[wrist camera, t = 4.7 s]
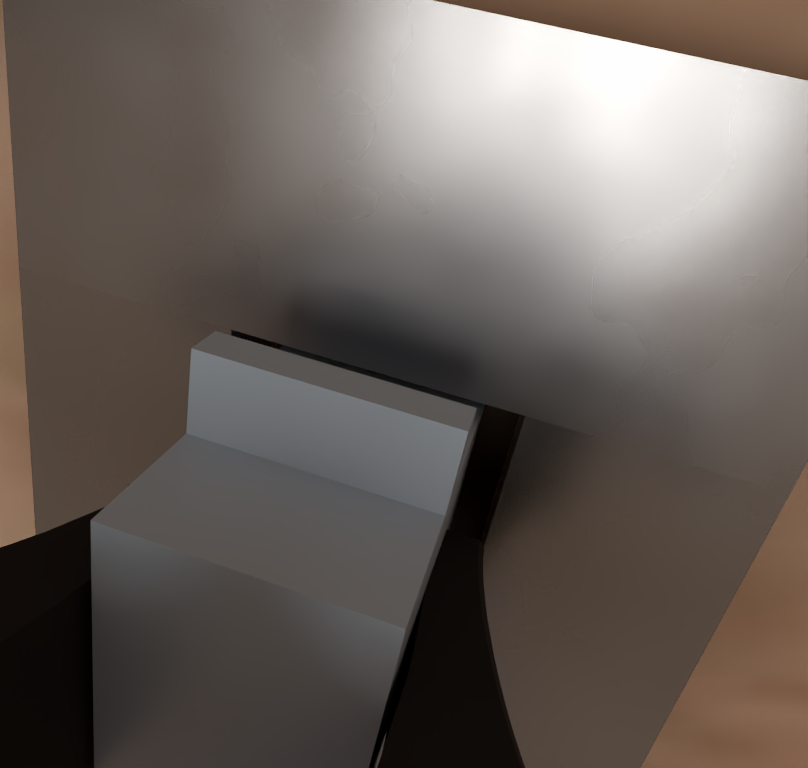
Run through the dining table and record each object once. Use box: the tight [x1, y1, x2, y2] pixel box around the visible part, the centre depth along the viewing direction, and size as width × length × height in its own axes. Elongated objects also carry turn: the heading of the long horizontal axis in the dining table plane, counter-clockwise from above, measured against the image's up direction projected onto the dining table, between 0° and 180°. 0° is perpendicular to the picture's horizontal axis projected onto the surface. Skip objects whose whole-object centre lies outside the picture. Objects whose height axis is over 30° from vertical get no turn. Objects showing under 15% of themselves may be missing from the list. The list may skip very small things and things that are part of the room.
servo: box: [91, 331, 485, 768], centre depth 11 cm, size 8×3×6 cm, turn 169°
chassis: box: [3, 0, 808, 768], centre depth 13 cm, size 16×12×3 cm
